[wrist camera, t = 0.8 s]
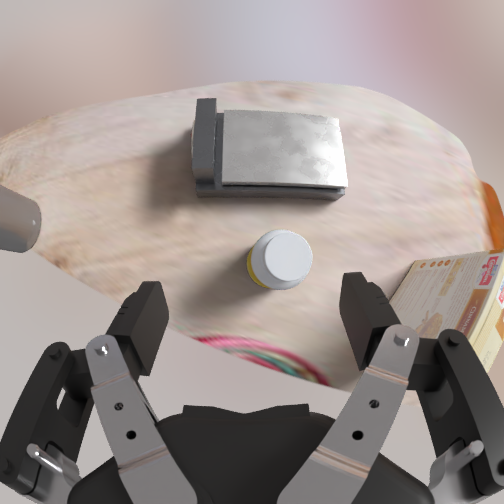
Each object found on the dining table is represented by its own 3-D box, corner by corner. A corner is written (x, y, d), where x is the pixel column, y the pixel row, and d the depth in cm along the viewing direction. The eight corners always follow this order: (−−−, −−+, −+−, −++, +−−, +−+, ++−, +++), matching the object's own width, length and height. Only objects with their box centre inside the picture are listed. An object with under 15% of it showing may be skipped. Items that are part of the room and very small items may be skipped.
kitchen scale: (193, 197, 38) (185, 176, 30) (198, 123, 39) (193, 93, 31) (336, 200, 39) (360, 182, 31) (328, 130, 41) (347, 103, 33)
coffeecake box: (390, 358, 38) (476, 394, 19) (364, 333, 38) (454, 364, 19) (437, 286, 40) (526, 284, 20) (415, 258, 40) (507, 244, 20)
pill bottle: (252, 293, 37) (264, 299, 26) (240, 246, 38) (246, 232, 26) (298, 280, 38) (328, 280, 26) (286, 235, 38) (310, 216, 27)
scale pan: (222, 184, 35) (222, 181, 33) (224, 114, 36) (224, 110, 34) (344, 189, 36) (347, 186, 35) (335, 122, 37) (338, 118, 36)
